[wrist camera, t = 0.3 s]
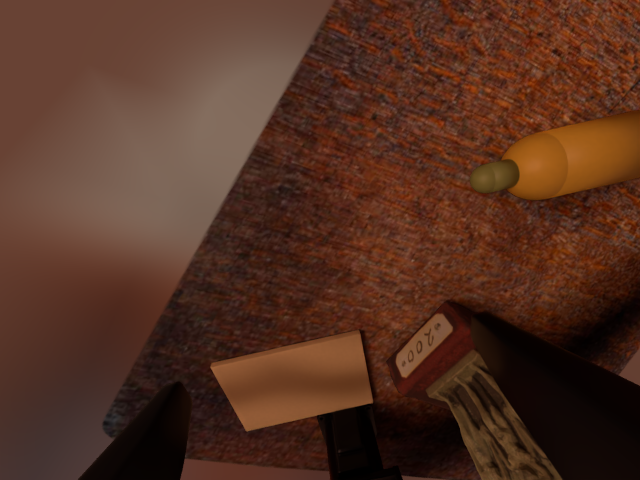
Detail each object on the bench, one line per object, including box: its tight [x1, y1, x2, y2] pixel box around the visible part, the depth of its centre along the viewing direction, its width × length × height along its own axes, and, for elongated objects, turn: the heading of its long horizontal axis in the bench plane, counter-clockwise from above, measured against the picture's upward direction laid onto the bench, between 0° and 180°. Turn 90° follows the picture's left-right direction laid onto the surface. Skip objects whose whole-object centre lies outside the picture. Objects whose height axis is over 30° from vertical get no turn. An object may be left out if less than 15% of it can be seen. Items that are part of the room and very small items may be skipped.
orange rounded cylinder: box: [470, 110, 640, 200], centre depth 19 cm, size 14×5×5 cm, turn 101°
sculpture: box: [386, 302, 563, 480], centre depth 22 cm, size 10×8×15 cm
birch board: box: [211, 330, 373, 431], centre depth 30 cm, size 11×15×1 cm
